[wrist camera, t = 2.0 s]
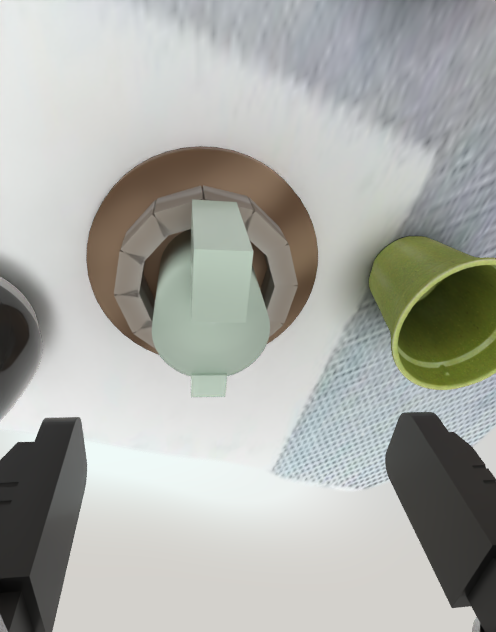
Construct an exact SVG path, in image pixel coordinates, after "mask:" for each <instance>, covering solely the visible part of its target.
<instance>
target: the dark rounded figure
mask: <svg viewBox="0 0 496 632" xmlns="http://www.w3.org/2000/svg"><path fill="white" fill-rule="evenodd" d="M42 351H43V344H42V337H41V333H40V329H39V324H38V320H37V317H36V314H35V312H34V310H33V308H32V306H31V304H30V303H29V301H28V300H27V299H26V297H25V296H24V295H23V294H22V293H21V292H20V291H19V290H18V289H17V288H16V287H15V286H14V285H12V284H11V283H10V282H8V281H7V280H5V279H3V278H2V277H0V421H1V420H2V419H3V418H4V417H5V416H6V415H7V413H8V412H9V411H10V410H11V408H12V407H13V406H14V405H15V403H16V402H17V401H18V399H19V398H20V397H21V395H22V394H23V393H24V391H25V390H26V388H27V387H28V385H29V384H30V382H31V381H32V379H33V377H34V375H35V373H36V371H37V369H38V367H39V364H40V362H41V358H42Z"/></svg>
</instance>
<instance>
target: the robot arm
mask: <svg viewBox="0 0 496 632" xmlns="http://www.w3.org/2000/svg"><path fill="white" fill-rule="evenodd" d="M385 463H386V470H387V474H388V477H389V479H390V481H391V483H392V485H393V487H394V489H395V491H396V493H397V495H398V498H399V500H400V502H401V504H402V506H403V508H404V510H405V512H406V514H407V516H408V518H409V520H410V522H411V524H412V526H413V529H414V530H415V533H416V535H417V537H418V539H419V541H420V543H421V545H422V547H423V549H424V551H425V553H426V555H427V557H428V560H429V562H430V564H431V566H432V568H433V570H434V572H435V574H436V576H437V578H438V580H439V582H440V584H441V586H442V588H443V590H444V593H445V595H446V597H447V599H448V601H449V603H450V605H451V607H452V608H456V607H465V606H472V608H473V610H474V612H475V614H476V616H477V617H476V619H475V621H474V623H473V629H472V632H496V479H495V477H494V476H493V475H492V473H491V472H490V471H489V469H486V467H485V464H484V462H483V461H482V460H481V458H480V457H479V456H478V454H477V453H476V451H475V450H474V449H473V447H471V446H470V445H469V444H468V443H467V442H465V441H464V440H463V439H462V438H460V437H459V436H458V435H457V434H456V433H454V432H448V430H447V429H446V428H445V426H444V425H443V423H442V422H441V420H440V419H439V418H438V416H437V415H436V414H434V413H432V412H412V413H402V414H401V415H400V417H399V419H398V422H397V425H396V427H395V430H394V433H393V436H392V438H391V441H390V444H389V446H388V449H387V452H386V458H385ZM86 477H87V460H86V452H85V445H84V438H83V430H82V423H81V419H80V418H79V417H72V418H45V419H44V420H43V422H42V424H41V426H40V429H39V432H38V434H37V437H36V439H35V442H18V443H17V444H16V445H15V446H14V447H13V448H12V449H11V450H10V451H9V452H8V453H7V454H6V455H5V456H4V457H3V458H2V459H1V460H0V632H52V630H53V625H54V621H55V617H56V613H57V608H58V604H59V599H60V595H61V591H62V586H63V582H64V577H65V572H66V568H67V564H68V560H69V556H70V551H71V547H72V543H73V538H74V534H75V529H76V525H77V521H78V517H79V512H80V508H81V503H82V499H83V495H84V490H85V485H86Z"/></svg>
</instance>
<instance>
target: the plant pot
mask: <svg viewBox="0 0 496 632" xmlns="http://www.w3.org/2000/svg"><path fill="white" fill-rule="evenodd" d="M369 288H370V291H371V293H372V295H373V297H374V299H375V301H376V303H377V305H378V307H379V309H380V311H381V314H382V316H383V318H384V320H385V322H386V324H387V326H388V328H389V330H390V334H391V351H392V356H393V359H394V362H395V364H396V366H397V367H398V369H399V371H400V372H401V373H402V374H403V375H404V376H405V377H406V378H407V379H408V380H409V381H411V382H412V383H414V384H416V385H419V386H422V387H424V388H428V389H435V390H450V389H456V388H460V387H465V386H469V385H472V384H475V383H478V382H480V381H482V380H484V379H486V378H488V377H490V376H491V375H493V374H494V373H496V258H479V257H473V256H470V255H468V254H466V253H463V252H461V251H458V250H456V249H453V248H451V247H449V246H446V245H444V244H442V243H440V242H438V241H435V240H433V239H430V238H427V237H421V236H408V237H404V238H401V239H398V240H396V241H394V242H393V243H391V244H389V245H388V246H387V247H386V248H384V249H383V250H382V251H381V252H380V254H379V255H378V256H377V257H376V259H375V260H374V262H373V266H372V270H371V274H370V277H369Z"/></svg>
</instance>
